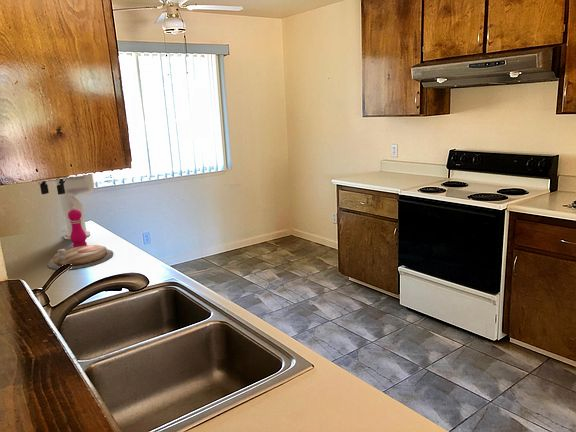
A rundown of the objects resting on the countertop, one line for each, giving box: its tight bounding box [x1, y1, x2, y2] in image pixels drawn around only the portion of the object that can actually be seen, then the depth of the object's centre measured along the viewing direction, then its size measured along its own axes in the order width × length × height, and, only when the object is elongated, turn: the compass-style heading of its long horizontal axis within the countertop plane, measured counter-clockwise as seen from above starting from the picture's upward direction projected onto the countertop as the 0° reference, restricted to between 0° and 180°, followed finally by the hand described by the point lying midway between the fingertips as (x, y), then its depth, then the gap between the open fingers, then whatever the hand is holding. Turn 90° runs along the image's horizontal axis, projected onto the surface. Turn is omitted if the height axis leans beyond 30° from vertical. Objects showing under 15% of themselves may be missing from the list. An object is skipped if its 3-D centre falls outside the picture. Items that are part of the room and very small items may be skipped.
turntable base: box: [47, 248, 114, 270], centre depth 206 cm, size 27×27×1 cm
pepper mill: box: [68, 207, 88, 248], centre depth 223 cm, size 7×7×20 cm
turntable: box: [52, 244, 108, 266], centre depth 205 cm, size 22×22×6 cm
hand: (53, 193), depth 198 cm, fingers open, 9 cm apart
